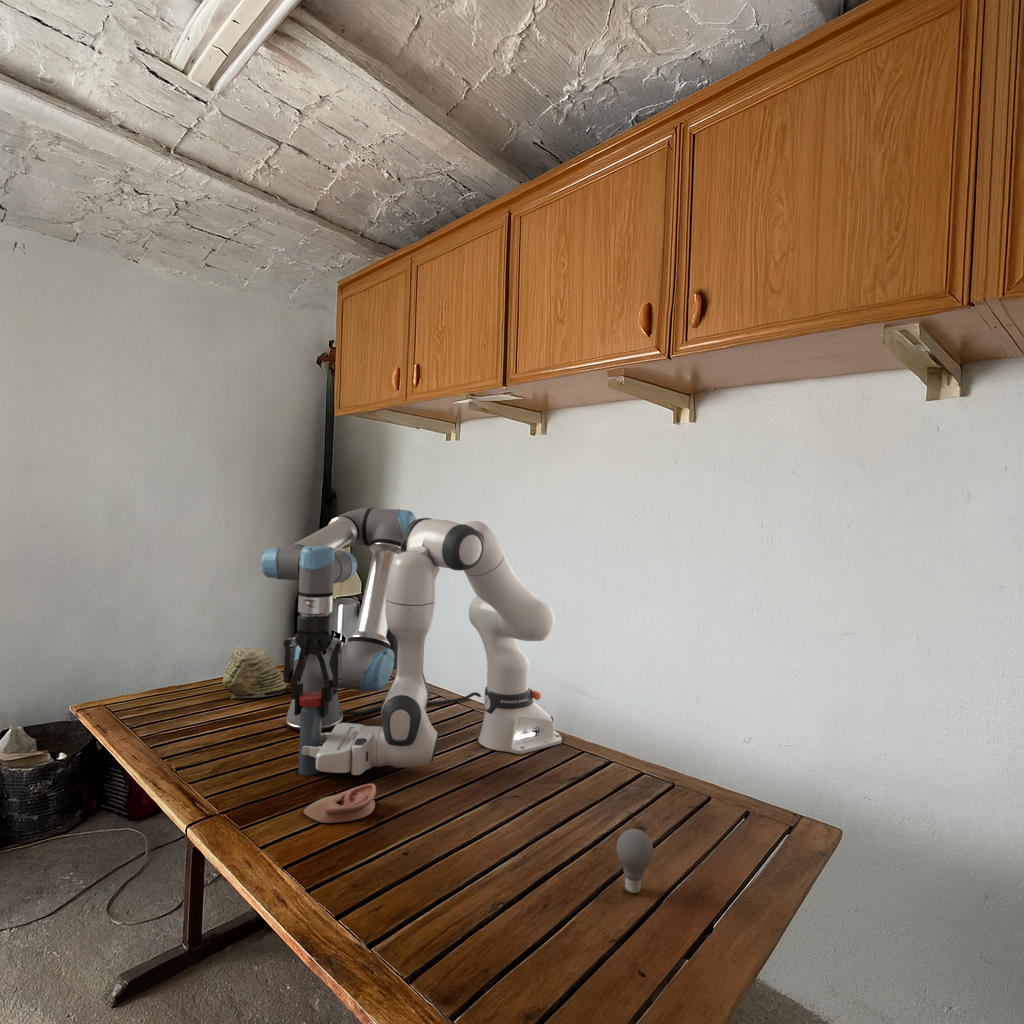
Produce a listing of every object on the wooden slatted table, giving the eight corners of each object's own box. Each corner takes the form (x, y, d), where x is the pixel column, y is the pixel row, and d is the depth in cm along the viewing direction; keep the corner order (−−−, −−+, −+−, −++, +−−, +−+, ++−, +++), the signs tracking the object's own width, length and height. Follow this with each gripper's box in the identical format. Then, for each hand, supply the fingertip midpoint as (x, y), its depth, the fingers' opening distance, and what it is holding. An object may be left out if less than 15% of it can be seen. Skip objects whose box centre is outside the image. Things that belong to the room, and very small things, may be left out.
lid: (297, 707, 142) (297, 699, 142) (300, 699, 148) (301, 691, 148) (322, 707, 143) (323, 699, 143) (325, 699, 149) (326, 691, 149)
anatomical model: (295, 798, 124) (324, 774, 135) (295, 818, 124) (324, 792, 135) (358, 808, 121) (383, 782, 132) (358, 828, 121) (382, 801, 133)
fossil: (218, 695, 195) (220, 647, 195) (278, 685, 208) (279, 640, 207) (228, 703, 189) (230, 653, 188) (289, 692, 201) (290, 645, 201)
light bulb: (610, 879, 108) (613, 822, 108) (644, 879, 109) (647, 822, 109) (619, 902, 102) (622, 840, 102) (655, 901, 103) (658, 840, 103)
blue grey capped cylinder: (297, 768, 147) (300, 698, 147) (318, 765, 149) (321, 696, 149) (299, 777, 143) (301, 704, 142) (320, 774, 144) (323, 702, 144)
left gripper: (268, 614, 142) (264, 717, 142) (349, 619, 141) (345, 722, 141) (283, 608, 149) (279, 706, 150) (359, 613, 148) (355, 711, 149)
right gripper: (375, 717, 156) (318, 715, 156) (358, 749, 136) (293, 748, 135) (374, 742, 157) (317, 740, 156) (357, 779, 136) (292, 777, 136)
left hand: (311, 714), depth 145 cm, fingers closed on lid, 5 cm apart
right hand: (306, 744), depth 146 cm, fingers closed on blue grey capped cylinder, 5 cm apart
